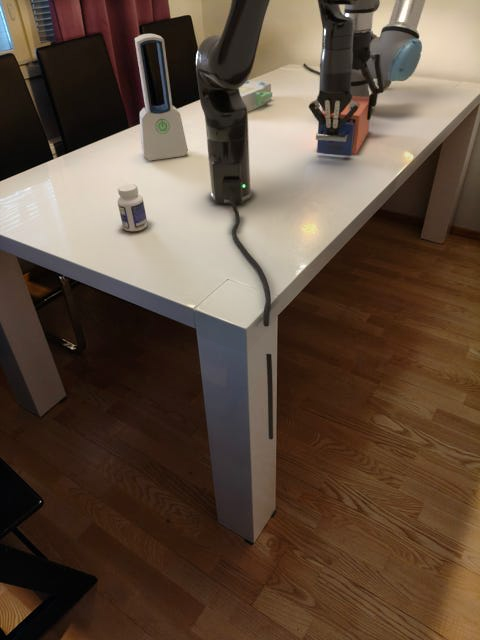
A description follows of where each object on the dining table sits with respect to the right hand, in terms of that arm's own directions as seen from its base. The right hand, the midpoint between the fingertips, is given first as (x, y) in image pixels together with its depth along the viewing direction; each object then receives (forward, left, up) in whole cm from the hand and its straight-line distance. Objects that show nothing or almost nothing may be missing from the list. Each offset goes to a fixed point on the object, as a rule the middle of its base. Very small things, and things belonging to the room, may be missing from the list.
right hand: (349, 117), depth 143 cm
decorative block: (-31, -40, -5) cm, 51 cm away
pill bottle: (+64, -43, -5) cm, 78 cm away
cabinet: (+5, -1, -5) cm, 8 cm away
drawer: (+13, -2, -4) cm, 14 cm away
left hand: (+22, -4, 0) cm, 22 cm away
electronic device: (+20, -51, -5) cm, 55 cm away
